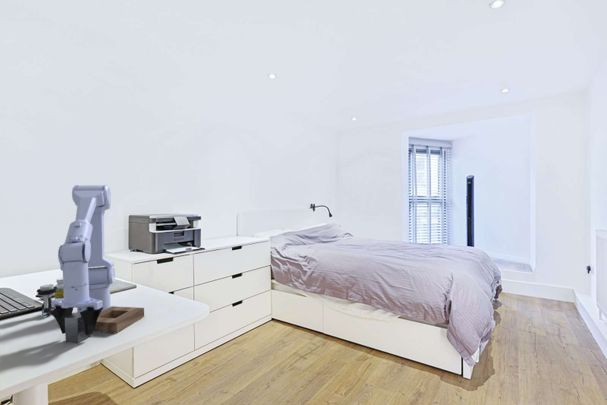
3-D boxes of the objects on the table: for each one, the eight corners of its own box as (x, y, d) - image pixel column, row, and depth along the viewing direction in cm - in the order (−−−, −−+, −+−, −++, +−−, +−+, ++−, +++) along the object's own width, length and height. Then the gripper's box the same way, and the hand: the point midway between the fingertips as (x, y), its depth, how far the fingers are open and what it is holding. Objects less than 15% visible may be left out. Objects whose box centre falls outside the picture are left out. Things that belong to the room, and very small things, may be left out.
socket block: (81, 330, 92) (80, 321, 92) (112, 315, 104) (111, 306, 104) (117, 333, 91) (116, 323, 90) (144, 316, 102) (143, 307, 102)
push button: (53, 317, 103) (52, 288, 102) (33, 320, 101) (32, 290, 100) (60, 310, 109) (59, 282, 108) (41, 313, 107) (40, 284, 106)
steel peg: (65, 342, 85) (64, 317, 85) (78, 336, 89) (77, 312, 89) (78, 343, 85) (77, 318, 84) (90, 336, 88) (89, 312, 88)
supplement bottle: (76, 300, 120) (75, 275, 119) (68, 305, 114) (67, 279, 114) (60, 301, 118) (59, 276, 118) (52, 306, 113) (51, 280, 113)
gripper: (39, 288, 84) (41, 338, 84) (86, 290, 81) (88, 341, 82) (63, 281, 90) (65, 326, 91) (107, 282, 88) (109, 329, 89)
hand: (78, 332), depth 87 cm, fingers open, 7 cm apart
